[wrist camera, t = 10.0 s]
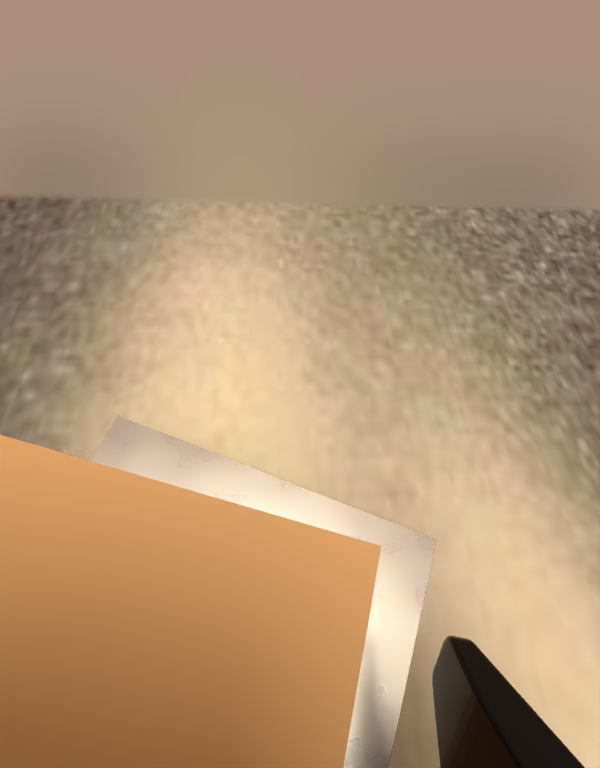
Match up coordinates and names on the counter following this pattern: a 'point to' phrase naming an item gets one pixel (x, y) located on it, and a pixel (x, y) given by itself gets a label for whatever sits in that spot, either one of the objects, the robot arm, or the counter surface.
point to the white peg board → (275, 496)
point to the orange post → (170, 624)
